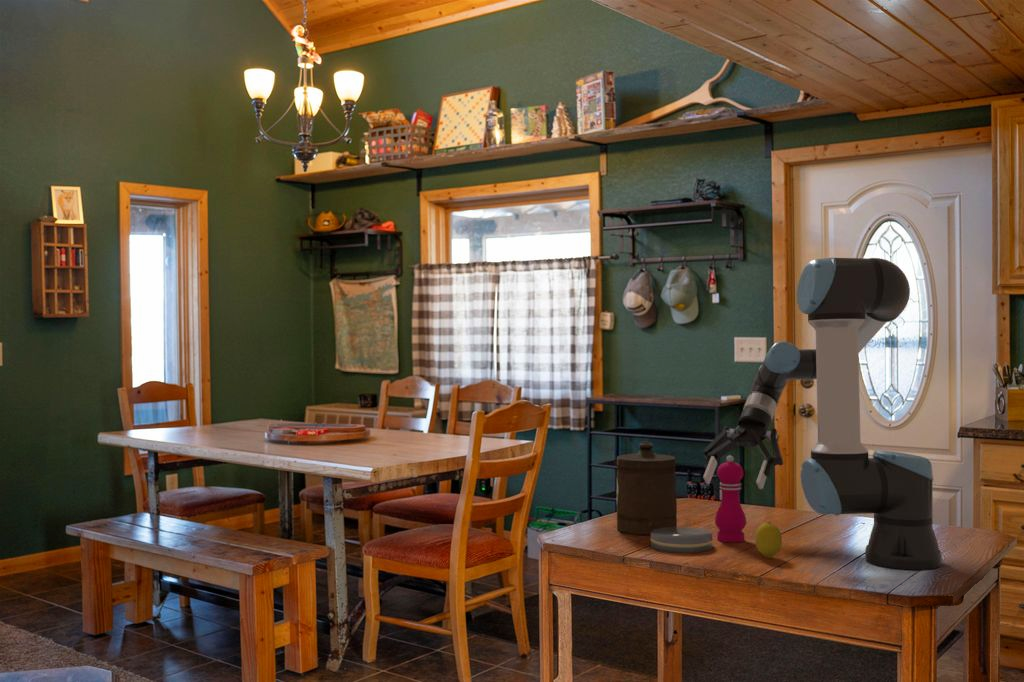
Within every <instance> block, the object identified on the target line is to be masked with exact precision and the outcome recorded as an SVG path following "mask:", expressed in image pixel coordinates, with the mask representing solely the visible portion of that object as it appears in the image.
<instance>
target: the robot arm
mask: <svg viewBox="0 0 1024 682" xmlns="http://www.w3.org/2000/svg"><path fill="white" fill-rule="evenodd" d="M796 290H797V291H796V303H797V304H798V309H799V311H800V312H801V313H802V314H805V315H807V323H808V324H809V325H810V326H811V327H812V328H813V329H814V331H815V349H814V348H813V349H810V348H809V349H801V348H800V349H799V348H798V347H797V346H796V345H795V344H793V343H790V342H788V341H784V340H783V341H778V342H776V343H774V344H773V345H771V347H770V348H769V350H768V352H767V353H766V355H765V356H764V360H763V363H762V364H761V365H760V366H759V368H758V370H757V372H756V373H755V375H754V380H753V383H752V385H751V389H750V391H749V394H748V396H747V398H746V401H745V403H744V405H743V408H742V409H743V410H742V411H741V415H740V417H739V419H738V423H737V427H736V426H735V427H736V428H730V427H729V425H725V426H723V428H722V430H721V432H720V433H719V434H718V435H717V436H716V437H715V438H714V439H713V440H712V441H711V442H709V444H708V445H707V446H706V447H705V448H704V449H703V450H702V452H701V453H702V455H703V457H704V459H705V460H706V461H705V464H704V469H705V471H704V474H703V476H702V479H703V480H704V482H705V484H706V485H710V484H711V481H712V478H713V476H714V474H715V471H716V468H717V465H718V462H717V460H719V459H721V458H722V457H723V456H725V455H727V454H729V452H731V451H733V450H734V449H738V448H740V447H745V448H746V447H749V448H755V447H756V446H757V447H758V449H759V450H760V452H761V453H762V455H763V456H764V458H765V459H763V462H762V464H761V468H760V470H759V473H758V475H757V478H756V481H755V482H756V485H757V487H758V489H759V490H763V489H764V486H765V482H766V480H767V477H771V475H772V473H773V470H774V467H775V466H783V465H784V460H783V457H782V452H781V449H780V445H779V438H780V435H779V433H778V431H777V429H776V428H772V429H771V430H770V428H771V424H772V421H773V419H774V416H775V412H776V410H777V407H778V403H779V401H780V398H781V396H782V394H783V391H784V390H785V387H786V386H787V384H788V383H789V381H790V380H791V381H792V380H794V381H795V380H801V381H802V380H816V408H817V409H816V411H817V413H816V415H817V442H816V444H814V446H813V447H812V448H811V449H810V458H807V459H805V460H804V461H803V462H802V464H801V469H800V482H801V487H802V491H803V495H804V497H805V500H806V502H807V503H808V505H809V506H810V508H811V510H813V511H814V512H816V513H818V514H820V515H834V516H840V515H863V514H865V515H866V514H867V515H868V514H870V515H871V514H873V526H872V528H871V531H870V535H869V540H868V544H867V545H866V546H865V550H864V551H865V553H864V555H865V556H864V557H865V560H866V561H867V562H868V563H870V564H873V565H876V566H879V567H885V568H891V569H899V570H911V571H912V570H917V571H919V570H921V571H922V570H931V569H936V568H939V567H941V566H942V563H943V561H942V558H943V557H942V555H943V554H942V552H941V549H939V543H938V539H937V536H936V534H935V531H934V527H933V523H934V522H933V505H934V504H933V481H934V475H933V466H932V463H931V461H930V459H928V458H926V457H924V456H919V455H915V454H910V453H906V452H905V453H904V452H898V451H889V450H874V451H873V454H872V457H869V450H868V449H867V448H866V446H864V445H863V444H862V442H861V410H860V409H861V407H860V403H861V402H860V401H861V400H860V368H859V367H860V364H859V363H860V361H859V360H860V359H859V354H860V352H861V351H862V350H863V349H864V348H865V347H866V346H867V345H868V343H870V342H871V340H872V339H873V338H874V337H875V336H876V335H877V333H878V332H879V331H880V330H881V329H882V328H883V327H884V325H886V324H887V323H891V322H893V321H895V320H896V319H897V318H898V317H899V316H900V315H901V314H902V313H903V311H904V310H905V309H906V307H907V305H908V303H909V300H910V296H911V295H910V294H911V292H910V291H911V287H910V283H909V280H908V278H907V275H906V274H905V272H904V271H903V270H902V269H901V268H900V267H899V266H898V265H897V264H895V263H894V262H892V261H889V260H888V259H885V258H879V257H870V258H866V257H865V258H861V257H825V258H816V259H812V260H809V262H808V263H806V265H805V266H804V267H803V269H802V272H801V273H800V276H799V279H798V283H797V289H796ZM767 438H769V440H770V441H771V446H772V448H773V449H772V450H773V453H774V457H773V456H772V455H771V453H770V452H769V450H768V449H767V447H766V445H765V444H764V442H763V441H765V440H766V439H767ZM736 440H737V441H736Z"/></svg>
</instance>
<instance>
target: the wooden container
mask: <svg viewBox="0 0 1024 682" xmlns="http://www.w3.org/2000/svg"><path fill="white" fill-rule="evenodd" d="M653 448H654V445H653V443H652V442H650V441H649V440H643V441H641V442H639V451H638V452H637V453H626V454H620V455H617V457H616V528H617V529H616V530H618V531H620V532H622V533H626V534H631V535H642V536H651V531H652V530H654V529H658V528H664V527H678V526H677V524H678V523H677V522H678V520H677V512H678V507H677V505H678V504H677V482H676V457H675V456H673V455H669V454H660V453H659V454H658V453H655V452H654V451H653V450H652V449H653Z"/></svg>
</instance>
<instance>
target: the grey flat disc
mask: <svg viewBox="0 0 1024 682" xmlns="http://www.w3.org/2000/svg"><path fill="white" fill-rule="evenodd" d="M650 547H651V548H652V549H655V550H658V551H661V552H662V551H663V552H666V553H667V552H668V553H676V554H677V553H679V554H681V553H682V554H690V553H691V554H693V553H702V552H708V551H710V550H711V549H713V533H712V531H710V530H707V529H704V528H700V527H699V528H698V527H691V526H690V527H688V526H677V527H664V528H658V529H654V530H652V531H651V535H650Z"/></svg>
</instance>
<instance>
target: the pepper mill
mask: <svg viewBox="0 0 1024 682" xmlns="http://www.w3.org/2000/svg"><path fill="white" fill-rule="evenodd" d="M725 460H726V462H723V463H721V464H720V465H719V466H718V468H717V471H716V472H717V474H716V475H717V477H718V479H719V480H720V482H719V489H720V490H721V501H720V504H719V507H718V509H717V511H716V514H715V517H714V525H716V527H717V528H718V531H717V532H716V535H717V536H716V538H717V541H719V542H722V543H735V544H736V543H742V542H744V541H745V533H744V532H743V530H744V528H746V525H747V518H746V514H745V512H744V509H743V507H742V505H741V502H740V501H741V500H740V490H741V489H742V483H741V482H740V481H741V480H742V479H743V477H744V469H743V467H742V466H741V465H740V464H739V463H737V462H734V461H735V458H734V456H732V455H727V456H726V459H725Z"/></svg>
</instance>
